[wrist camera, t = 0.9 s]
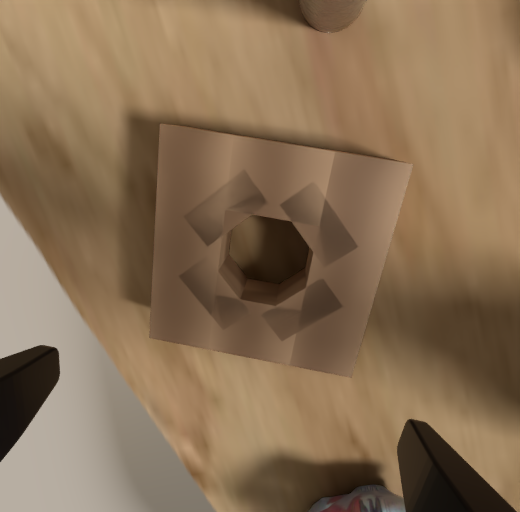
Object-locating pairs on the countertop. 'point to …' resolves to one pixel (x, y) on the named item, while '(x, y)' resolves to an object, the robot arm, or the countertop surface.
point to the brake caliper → (362, 501)
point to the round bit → (331, 13)
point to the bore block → (279, 207)
